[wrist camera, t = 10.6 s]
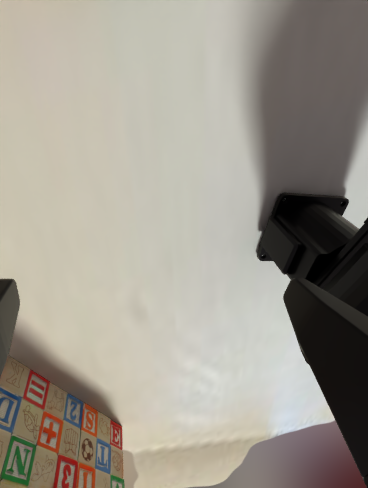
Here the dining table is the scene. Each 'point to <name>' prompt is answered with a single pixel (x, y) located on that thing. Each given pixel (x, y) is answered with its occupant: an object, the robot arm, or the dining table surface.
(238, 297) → the dining table surface
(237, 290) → the dining table surface
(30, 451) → the stack of blocks
